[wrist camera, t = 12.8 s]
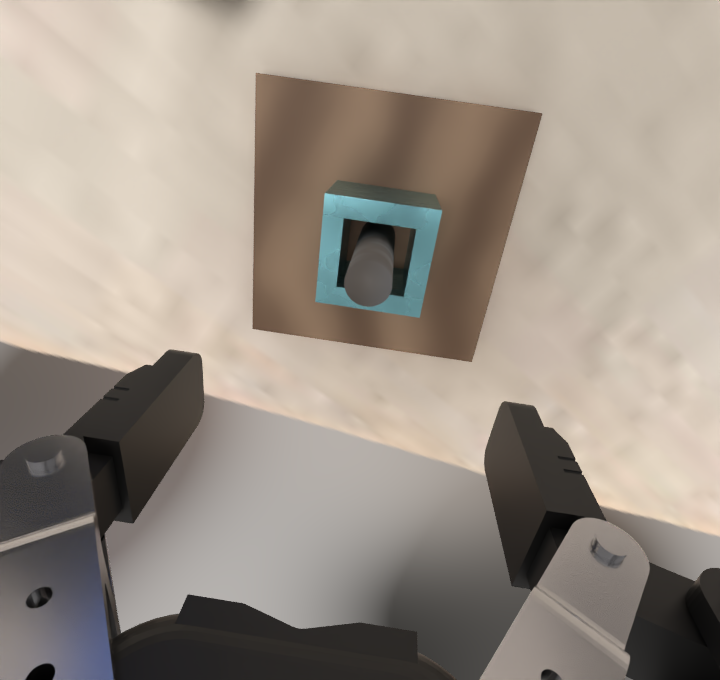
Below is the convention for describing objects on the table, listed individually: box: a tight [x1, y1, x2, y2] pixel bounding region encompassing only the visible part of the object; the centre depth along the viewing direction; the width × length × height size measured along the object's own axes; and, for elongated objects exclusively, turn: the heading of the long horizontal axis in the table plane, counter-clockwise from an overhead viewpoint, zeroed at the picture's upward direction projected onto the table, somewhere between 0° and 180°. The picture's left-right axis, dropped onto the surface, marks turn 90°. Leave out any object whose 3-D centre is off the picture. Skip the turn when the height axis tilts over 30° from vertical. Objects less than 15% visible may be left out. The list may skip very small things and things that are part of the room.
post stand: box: [253, 73, 542, 362], centre depth 25 cm, size 16×16×10 cm
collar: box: [315, 180, 442, 318], centre depth 26 cm, size 6×6×5 cm
